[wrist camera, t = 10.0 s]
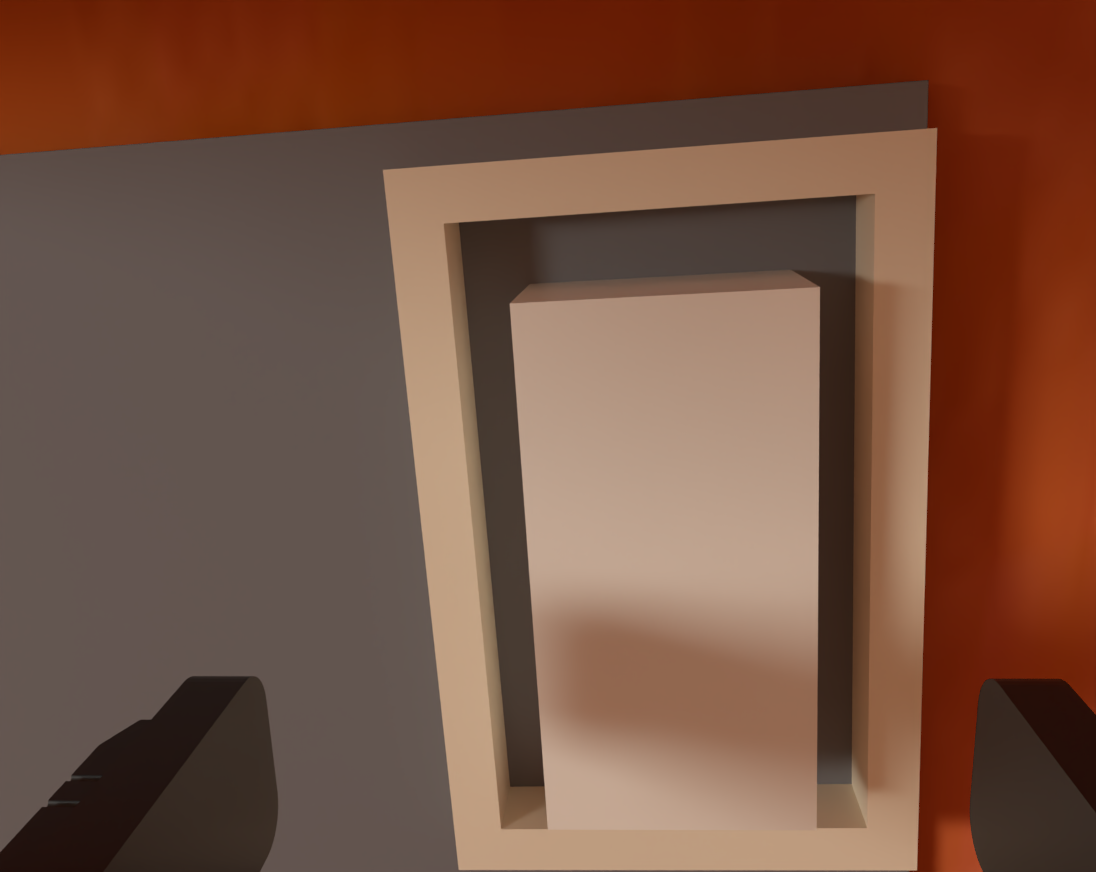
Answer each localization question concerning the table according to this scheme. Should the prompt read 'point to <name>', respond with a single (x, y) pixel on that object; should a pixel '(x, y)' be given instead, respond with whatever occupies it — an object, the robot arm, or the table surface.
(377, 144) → the mat
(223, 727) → the robot arm
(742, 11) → the table surface
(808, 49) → the table surface
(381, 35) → the table surface
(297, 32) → the table surface
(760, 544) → the tile
